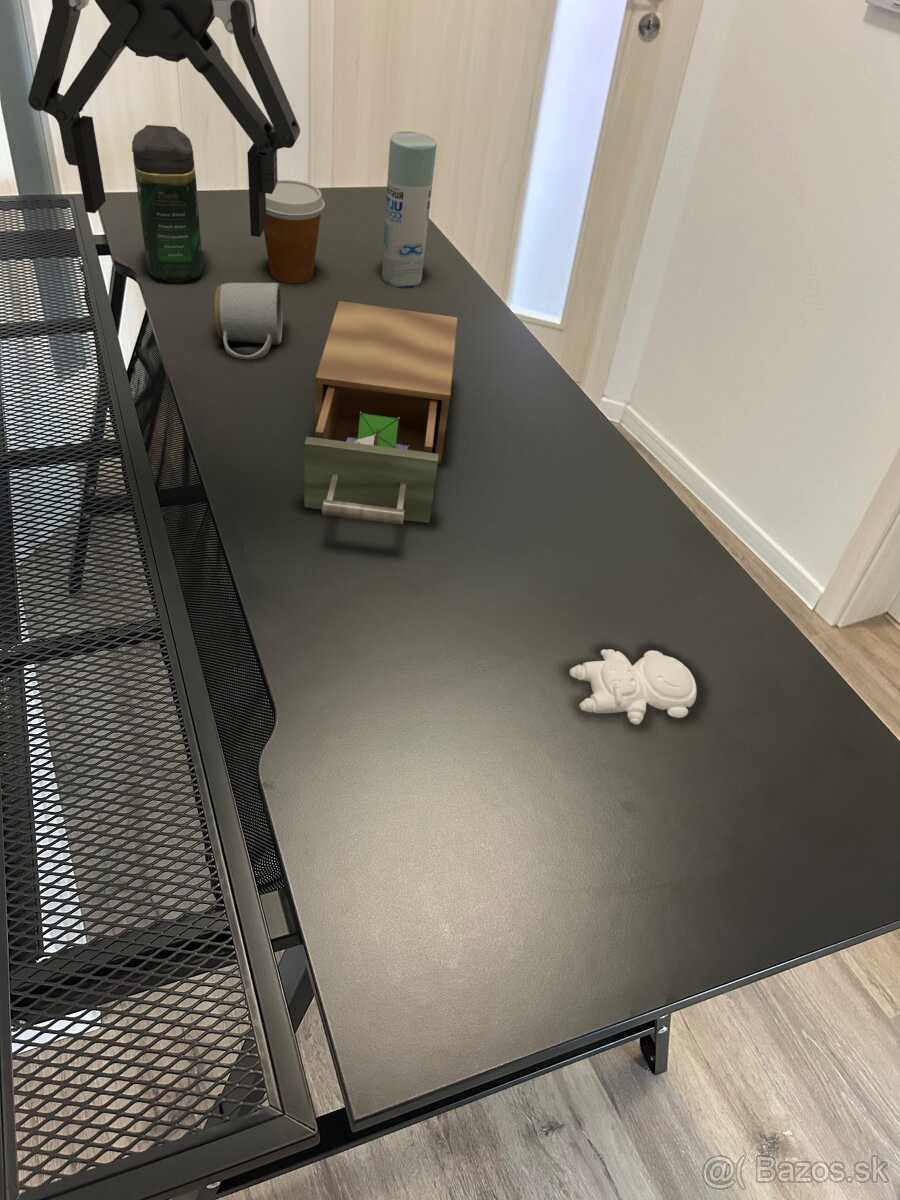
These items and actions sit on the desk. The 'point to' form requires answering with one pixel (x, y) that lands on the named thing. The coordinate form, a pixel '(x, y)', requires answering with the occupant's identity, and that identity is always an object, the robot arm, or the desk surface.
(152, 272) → the coffee jar
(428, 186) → the spray paint can
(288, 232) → the disposable coffee cup
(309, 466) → the drawer
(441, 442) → the cabinet
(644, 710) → the astronaut figurine
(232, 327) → the ceramic mug
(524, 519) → the desk surface
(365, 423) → the geometric puzzle
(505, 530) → the desk surface
